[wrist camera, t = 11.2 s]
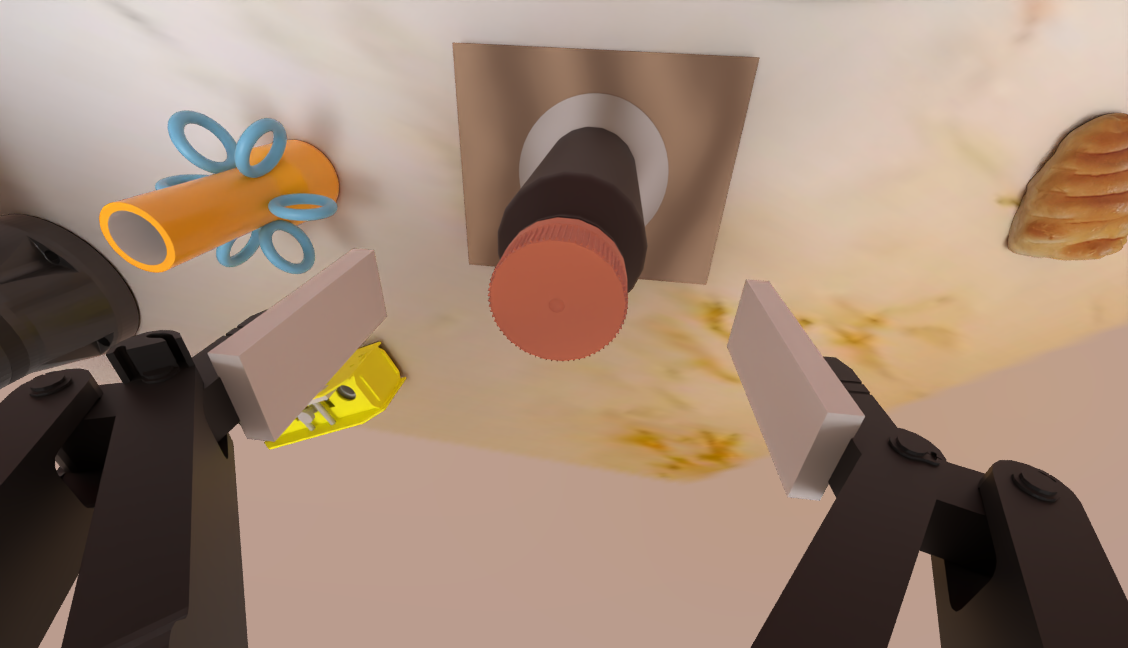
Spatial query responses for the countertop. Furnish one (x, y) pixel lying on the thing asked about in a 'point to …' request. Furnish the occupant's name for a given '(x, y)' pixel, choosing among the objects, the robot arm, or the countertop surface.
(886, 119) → the countertop surface
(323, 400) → the yellow toy chassis
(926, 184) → the countertop surface
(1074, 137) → the pastry
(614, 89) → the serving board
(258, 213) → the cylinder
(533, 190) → the vinegar
